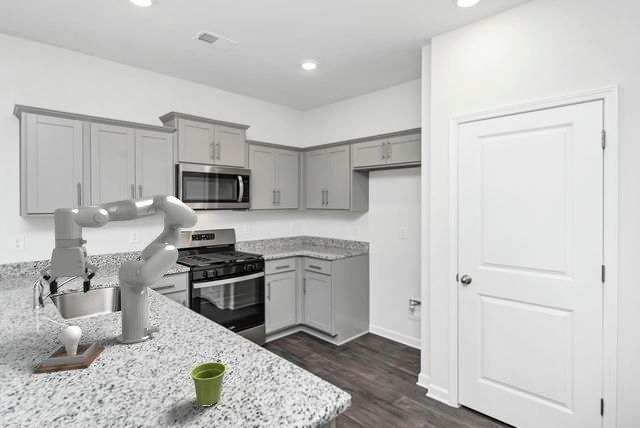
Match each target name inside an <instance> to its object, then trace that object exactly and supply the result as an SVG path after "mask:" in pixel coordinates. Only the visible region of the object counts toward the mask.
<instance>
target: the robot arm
mask: <svg viewBox="0 0 640 428" xmlns="http://www.w3.org/2000/svg"><path fill="white" fill-rule="evenodd" d="M161 215H164V217H163V224H164V225H163V226H164V227H163V230H162V232H160V234H159V235H158V236H157V237H156V238H155V239H154V240H152V241H151V242H150V243H149V244H148V245H146V246H145V248H144V249H142V251H141V259H142V260H140V259H139V260H137V259H130V260H126V261H125V262H123V263H122V264H121V265H120V266H119V268H118V272H117V277H118V279H117V280H118V282H119V287H120V309H121V334H119V335H118V336H117V340H116V341H117V342H118V343H119V344H124V345H125V344H137V343H140V342H144V341H147V340H149V339H150V338H151V337H153V334H154V333H160V330H161V327H160V326H158V325H156V326H155V325H154V326H152V325H151V322H149V293H148V287H150V286H153V285H155V284H157V282H158V281H160V279H162V278H163V277H164V275H167V273H168V272H169V271H170V270H171V268H173V266H174V265H175V264H176V263H177V262H178V259H179V251H178V248H177V247H178V245H179V244H180V243H181V238H182V229H192V228H193V227H195V226H196V225H197V223H198V215H197V212H195V210H194V209H193V208H191V207H190V206H188V205H187V204H185V203H184V202H183V201H181V200H180V199H178V198H177V197H175V196H173V195H171V194H153V195H147V196H141V197H135V198H128V199H127V198H126V199H123V200H122V199H121V200H116V201H111V202H103V203H98V204H97V203H95V204H91V205H90V204H89V205H86V206H85V205H84V206H81V207H77V208H76V207H60V208H56V209H55V210H54V213H53V216H54V217H53V219H54V221H53V222H54V248H53V249H52V253H51V256H50V265H48V266H46V267H45V268H42V269H40V270H39V273H40V275H41V277H42V279H43V280H45V281H46V283H47V284H49V285H48V286H49V293H50V295H51V296H54V295H55V294H57V293H59V292H58V290H59V285H58V281H57V280H58V279H59V278H72V277H74V278H75V277H80V278H82V279H83V280H84V281H82V282H83V283H82V285H83V286H82V292H83V293H84V294H86V293H88V292H90V290H91V288H92V287H91V280H92V278H94V277H95V276H96V274H97V273H98V271H99V269H100V268H99V267H98V266H96V265H94V264H91V263H90V262H89V257H88V256H89V255H88V252H87V248H86V246H83V245H87V243H88V241H87V240H86V239H84V237H83V228H92V229H98V228H101V227H102V228H103V227H104V226H105V225H107V224H108V223H109V222H111V223H112V222H129V221H137V220H140V219H145V218H149V217H150V218H151V217H154V216H161ZM90 270H91V273H90V274H89V271H90ZM48 271H49V272H50V274H48Z"/></svg>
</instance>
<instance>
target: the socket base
mask: <svg viewBox="0 0 640 428" xmlns="http://www.w3.org/2000/svg"><path fill="white" fill-rule="evenodd" d="M104 349H105V346H104V345H102V346H98V349H97V350H96V351H95V352H94V353H93V354H92V355H91V357H90V358H89V359H88V360H87V361H86V362H85V363H83V364H73V365H64V366H54V367H45V368H42V363H41V364H40V365H39V366H38V367H37V368H35V369H34V371H33V374H42V373H52V372H53V373H54V372H62V371H71V370H72V371H73V370H79V369H80V370H81V369H87V368H89V367H90V366H91V364H92V363H94V362H95V360H96V359H97V358H98V356H99V355H100V354H101V353H103V351H104ZM84 352H85V351H76V355H75V356H78V355H82V354H83V353H84ZM58 357H68V356H67V352H66V353H62V354H60V355H59V356H58Z"/></svg>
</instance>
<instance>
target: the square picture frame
mask: <svg viewBox="0 0 640 428" xmlns="http://www.w3.org/2000/svg"><path fill="white" fill-rule="evenodd" d="M98 347H99V341H88V342H81V343H79V342H78V345H77V349H76V351H85V352H84V353H83V354H82V355H78V356H68V357H58V356H59V355H60V354H62V353H66V352H67V351H66V347H65V345H64V344H60V345H58V346H57V347H55V349H54V350H53V351H51V352H50V353H49V354H48V355H46V356H45V357H44V358H42V360H41V364H42V368H45V367H54V366H64V365H73V364H83V363H85V362H86V361H87V360H88V359H89V358H90V357H91V355H92V354H93V353H94V352H95V351H96V350H97V349H98Z"/></svg>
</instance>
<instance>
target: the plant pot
mask: <svg viewBox="0 0 640 428" xmlns="http://www.w3.org/2000/svg"><path fill="white" fill-rule="evenodd" d="M226 371H227V366H226V365H225V364H224V363H221V362H215V361H212V362H211V361H209V362H205V363H201V364H198V365H196V366H195V367H193V368H192V369H191V371H190V376H191V378H192V381H193V383H194V390H195V397H196V398H195V399H196V402H197V404H198V405H199V404H200V405H211V404H213V405H215V404H214V403H216V402H218V401H219V402H220V400H221V397H222V396H221V395H222V388H223V380H224V377H225V374H226ZM219 402H218V403H219ZM216 404H217V403H216ZM200 405H199V406H200Z"/></svg>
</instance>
